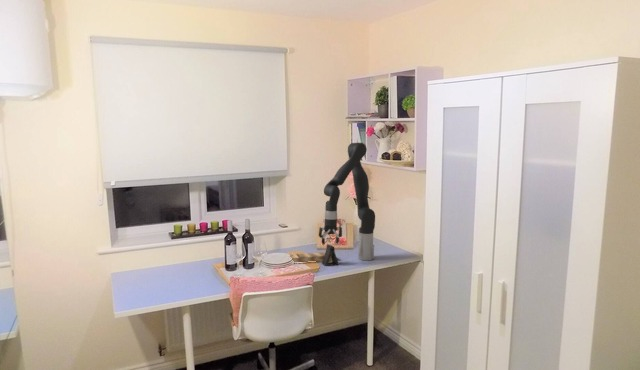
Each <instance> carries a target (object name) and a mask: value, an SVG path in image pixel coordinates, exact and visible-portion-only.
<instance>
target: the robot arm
mask: <svg viewBox="0 0 640 370" xmlns="http://www.w3.org/2000/svg"><path fill="white" fill-rule="evenodd" d="M367 150H368V149H367V145H366V144H365V143H363V142H352V143H351V142H350V144H349V145H348V146H347V155H348V160H347V161H345V163H344V164H342V165H341V166H340V167H339V169H337V171H336V172H335V175H334V176H333V177H332V178H331V179H330V181H328V182H327V183H326V185H325V186H324V188H323V194H324V195H325V196H326V197H329V200H326V201H325V208H324V209H325V211H324V227H321V226H319V227H318V237H319V238H321V244H322V245H325V243H326V242H325V238H326V237H327V236H328V235H334V236H335V244H339V242H340V238H341V237H342V236H343V228H342V226H338V202H339V200H340V195H341V190H340V188H339V186H343V184H344V183H345V182H346V180H347V178H348V176H349V175H350V174H351V173H352V178H353V187H354V192H355V198H356V203H357V217H358V219H359V220H360V222H361V223H360V227H359V228H358V254H357V255H358V256H357V257H358V258H357V259H359V260H361V261H371V260H374V259H375V244H374V230H375V227H376V226H375V225H376V213H375V211H374V210H373V209H372V208H370V205H369V200H368V199H369V191H370V183H369V178H368V174H367V173H366V171H365V168H363V167H364V166H362V161H361V160H362V159H363V158H364V157H365V155H366V154H367ZM337 230H338V233H337Z"/></svg>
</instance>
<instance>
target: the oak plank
mask: <svg viewBox="0 0 640 370" xmlns="http://www.w3.org/2000/svg"><path fill="white" fill-rule="evenodd" d="M325 252H326V251H324V252H323V251H322V252H309V253H292V254H290V253H289V255H290V257H291V258H292V260H293V261H294V262H308V261H316V262H317V263H322V261H323V258H324V255H325ZM329 262H332V258H331V256H330V260H329Z"/></svg>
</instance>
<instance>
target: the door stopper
mask: <svg viewBox="0 0 640 370" xmlns="http://www.w3.org/2000/svg"><path fill="white" fill-rule="evenodd" d="M324 252H325V255H324V258H323V261H322V262H321V265H323V266H324V267H331V266H332V267H333V266H339V265H340V264H339V261H338V258H337V255H336V252H335V246H333V245H331V244H327V245H326V250H325V251H324ZM330 256H331V258H332V262H329V260H330Z"/></svg>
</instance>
